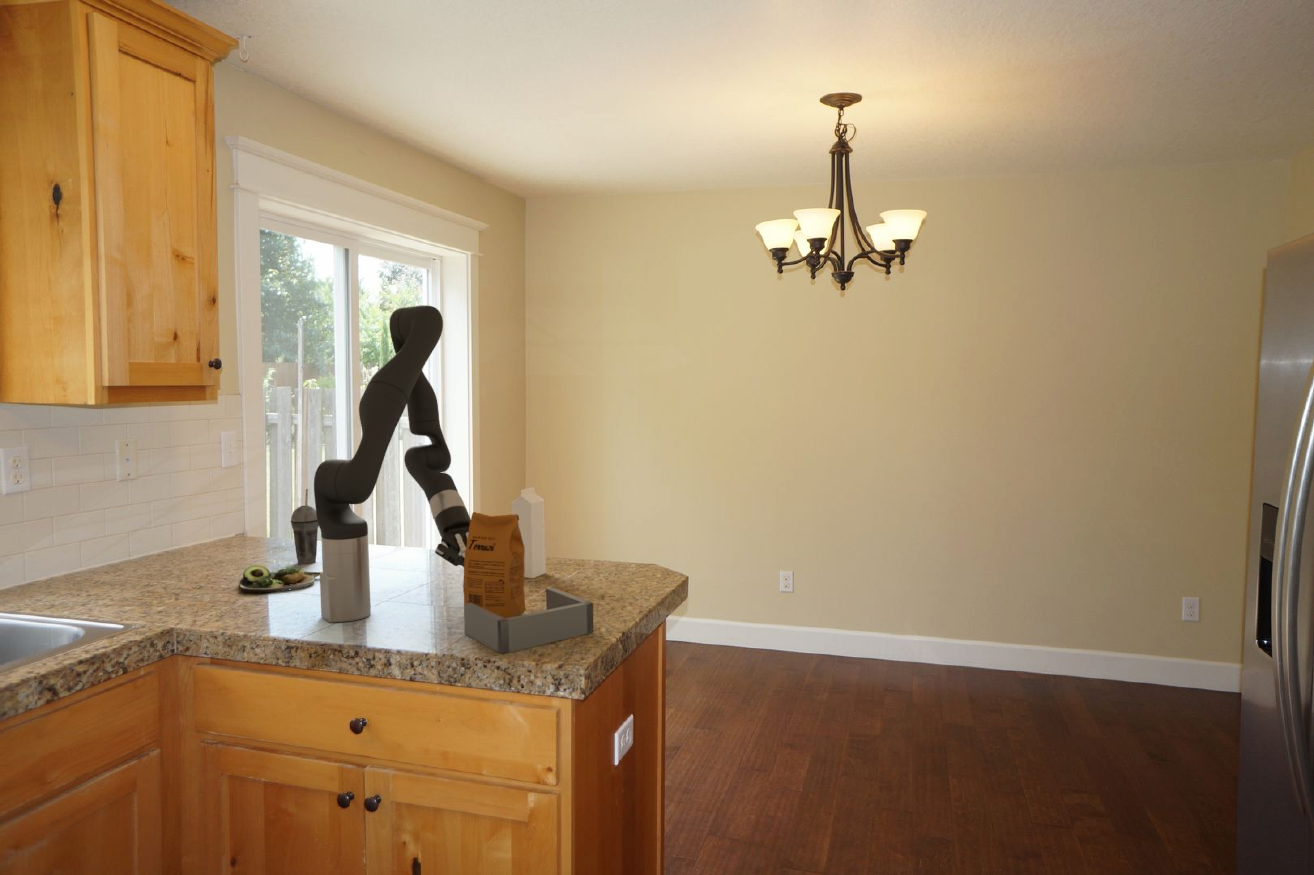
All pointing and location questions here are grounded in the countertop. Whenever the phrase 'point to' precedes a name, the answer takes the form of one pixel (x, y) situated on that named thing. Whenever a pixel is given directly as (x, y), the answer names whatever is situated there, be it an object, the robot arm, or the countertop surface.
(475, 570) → the coffee package
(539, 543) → the milk
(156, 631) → the countertop surface
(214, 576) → the countertop surface
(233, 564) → the countertop surface
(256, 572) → the salad plate
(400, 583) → the countertop surface
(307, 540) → the beverage cup
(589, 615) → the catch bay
